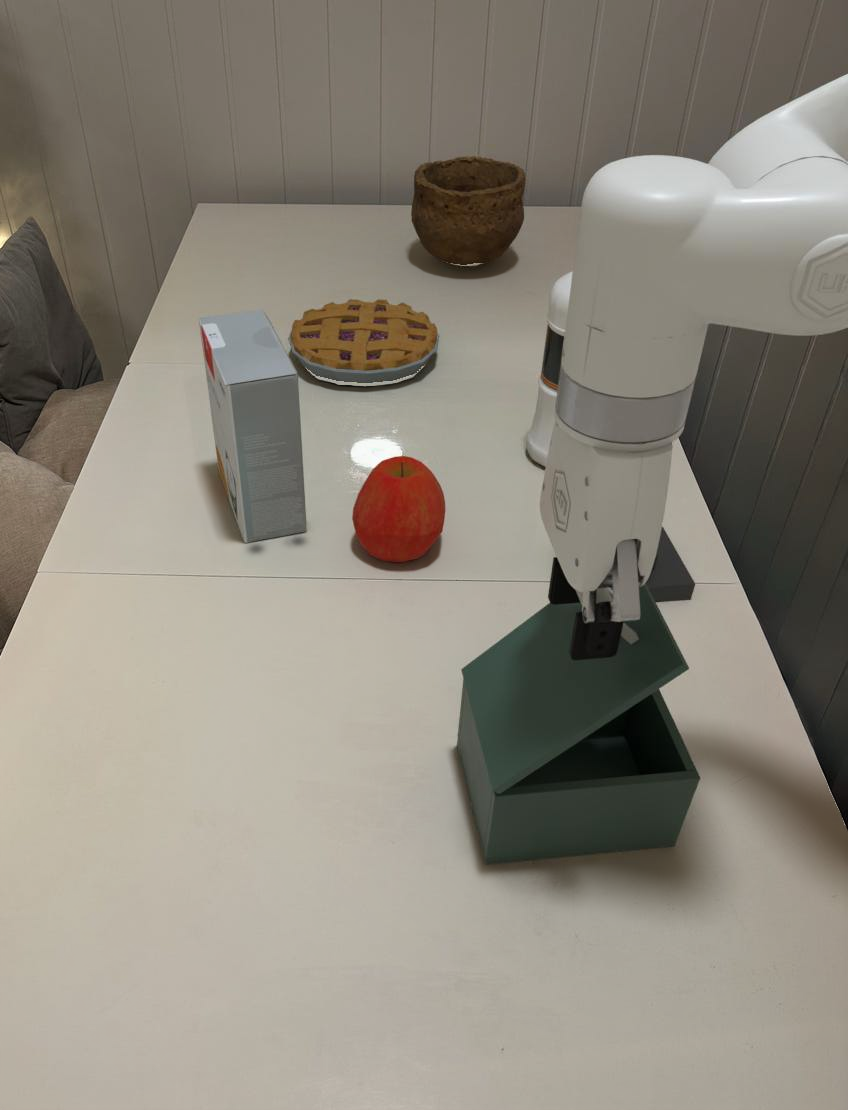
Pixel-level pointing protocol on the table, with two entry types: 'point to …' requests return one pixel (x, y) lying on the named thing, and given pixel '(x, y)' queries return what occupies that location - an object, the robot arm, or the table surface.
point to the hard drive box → (255, 423)
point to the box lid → (561, 685)
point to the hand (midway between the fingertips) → (580, 625)
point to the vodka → (550, 371)
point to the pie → (363, 341)
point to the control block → (669, 574)
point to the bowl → (468, 208)
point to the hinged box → (586, 790)
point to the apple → (399, 510)
